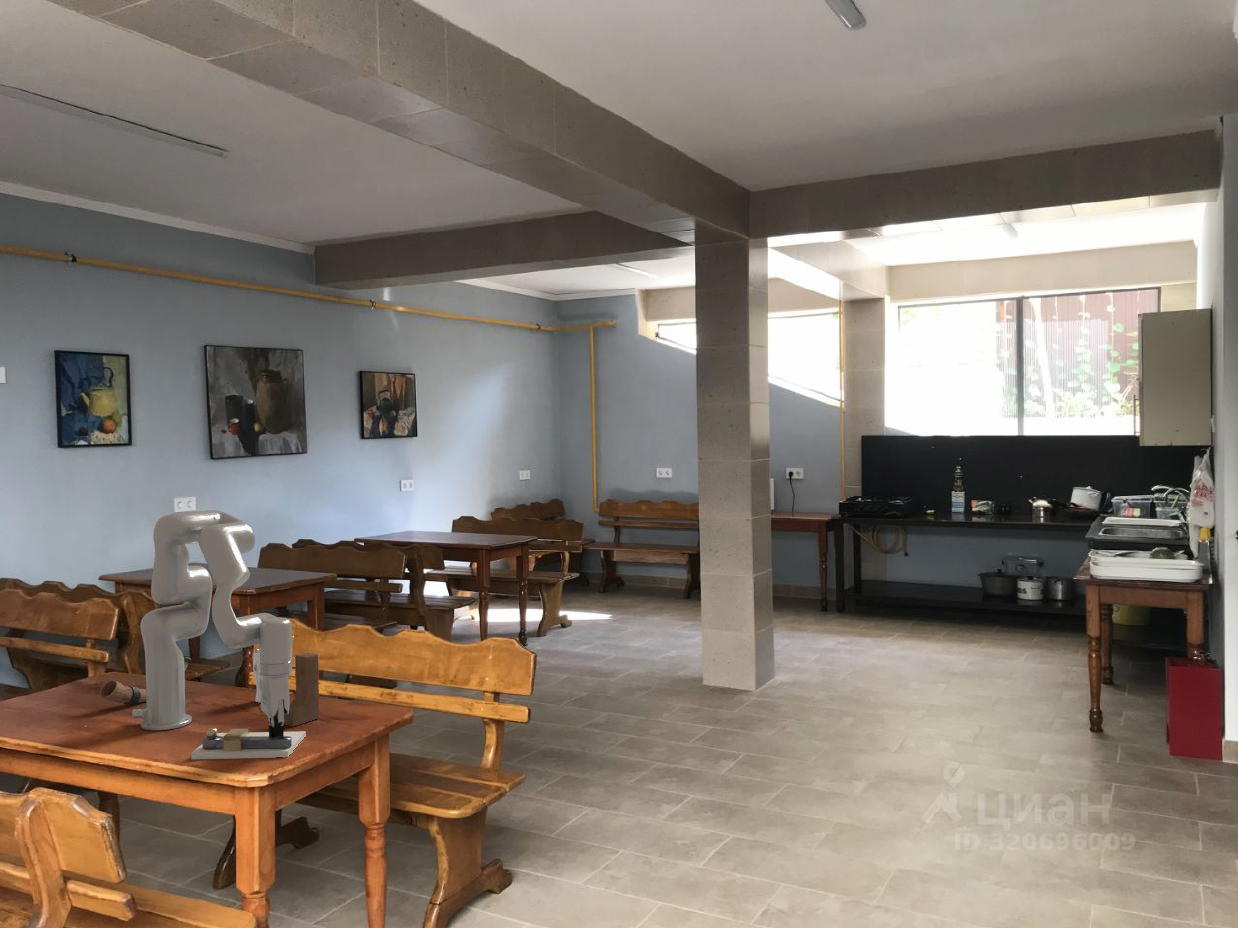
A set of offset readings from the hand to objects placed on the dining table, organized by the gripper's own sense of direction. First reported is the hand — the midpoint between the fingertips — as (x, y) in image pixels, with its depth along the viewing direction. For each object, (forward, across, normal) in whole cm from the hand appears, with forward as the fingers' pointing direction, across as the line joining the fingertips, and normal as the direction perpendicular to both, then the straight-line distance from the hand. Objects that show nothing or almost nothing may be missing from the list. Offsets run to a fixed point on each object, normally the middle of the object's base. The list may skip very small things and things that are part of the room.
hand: (276, 740), depth 247 cm
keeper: (+1, -3, -11) cm, 12 cm away
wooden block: (+3, -20, +12) cm, 23 cm away
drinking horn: (+4, -67, -20) cm, 70 cm away
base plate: (+2, -4, -5) cm, 7 cm away
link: (0, 0, -7) cm, 7 cm away
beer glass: (+3, -47, +9) cm, 48 cm away
